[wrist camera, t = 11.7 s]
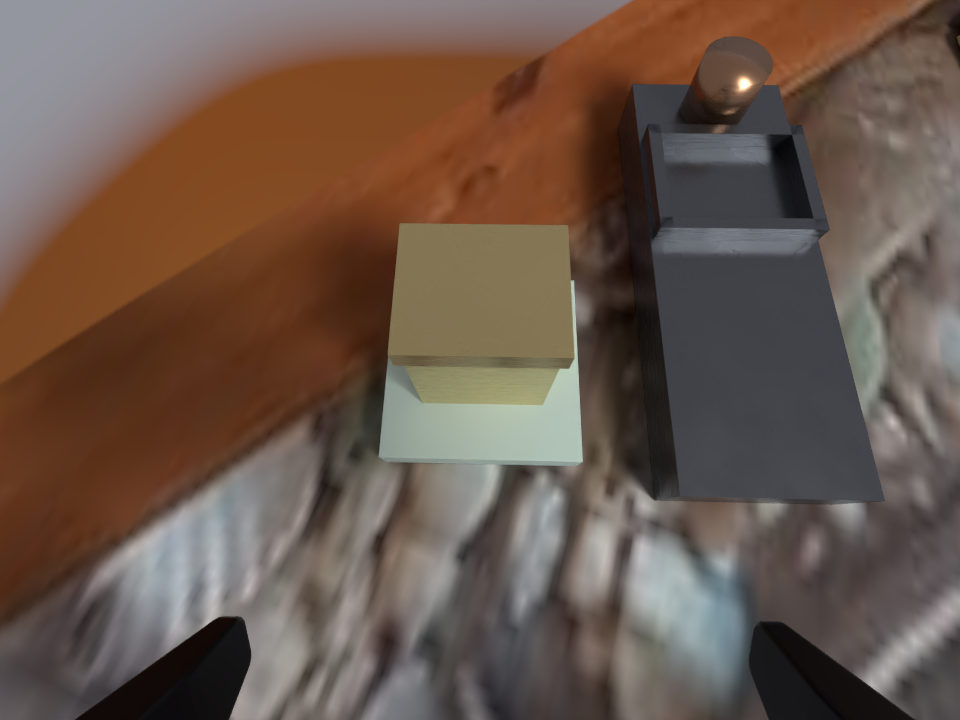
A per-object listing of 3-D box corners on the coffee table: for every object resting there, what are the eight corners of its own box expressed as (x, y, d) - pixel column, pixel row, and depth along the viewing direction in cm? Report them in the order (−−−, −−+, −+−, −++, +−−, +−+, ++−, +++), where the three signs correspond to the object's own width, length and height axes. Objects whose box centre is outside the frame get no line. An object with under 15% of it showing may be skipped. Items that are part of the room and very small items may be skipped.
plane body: (831, 504, 21) (957, 496, 16) (654, 500, 21) (715, 490, 16) (749, 129, 29) (814, 31, 23) (618, 127, 29) (650, 30, 23)
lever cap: (542, 418, 21) (574, 358, 14) (422, 415, 21) (387, 354, 14) (540, 325, 23) (568, 225, 15) (428, 323, 23) (399, 223, 15)
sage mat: (576, 466, 22) (582, 462, 21) (385, 461, 22) (378, 457, 21) (568, 294, 25) (573, 280, 24) (400, 291, 25) (395, 277, 24)
